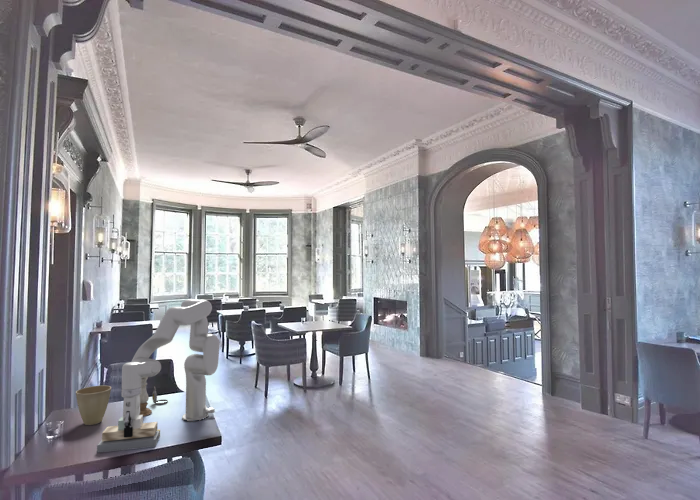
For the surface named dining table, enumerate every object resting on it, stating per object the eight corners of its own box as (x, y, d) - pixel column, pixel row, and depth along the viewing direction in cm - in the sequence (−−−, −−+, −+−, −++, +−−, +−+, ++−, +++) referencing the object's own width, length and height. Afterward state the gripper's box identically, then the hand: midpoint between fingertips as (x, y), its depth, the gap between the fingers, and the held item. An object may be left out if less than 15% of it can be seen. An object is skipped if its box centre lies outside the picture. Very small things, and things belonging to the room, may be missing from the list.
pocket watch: (170, 402, 232) (170, 384, 233) (158, 406, 224) (159, 388, 225) (158, 400, 235) (159, 382, 235) (147, 405, 227) (147, 386, 227)
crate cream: (142, 423, 180) (142, 414, 181) (140, 428, 176) (140, 418, 176) (132, 424, 179) (132, 415, 180) (129, 429, 175) (130, 419, 175)
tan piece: (157, 429, 183) (157, 421, 183) (154, 435, 176) (154, 427, 176) (107, 434, 178) (107, 426, 178) (102, 441, 171) (102, 433, 171)
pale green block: (131, 425, 179) (131, 415, 179) (128, 429, 174) (128, 419, 175) (121, 426, 178) (121, 416, 178) (118, 430, 173) (118, 420, 174)
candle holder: (155, 413, 214) (156, 373, 215) (139, 418, 207) (140, 377, 208) (145, 410, 219) (146, 371, 220) (129, 415, 212) (130, 375, 212)
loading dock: (160, 436, 185) (160, 429, 185) (155, 446, 174) (155, 439, 174) (105, 441, 179) (105, 434, 179) (96, 452, 168) (97, 444, 168)
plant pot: (117, 418, 207) (118, 386, 207) (91, 429, 192) (92, 395, 193) (94, 415, 211) (94, 384, 211) (67, 426, 196) (68, 392, 197)
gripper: (136, 396, 170) (135, 440, 169) (145, 385, 187) (144, 425, 186) (116, 398, 168) (115, 442, 167) (127, 386, 185) (126, 426, 184)
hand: (130, 433), depth 177 cm, fingers closed on tan piece, 7 cm apart
